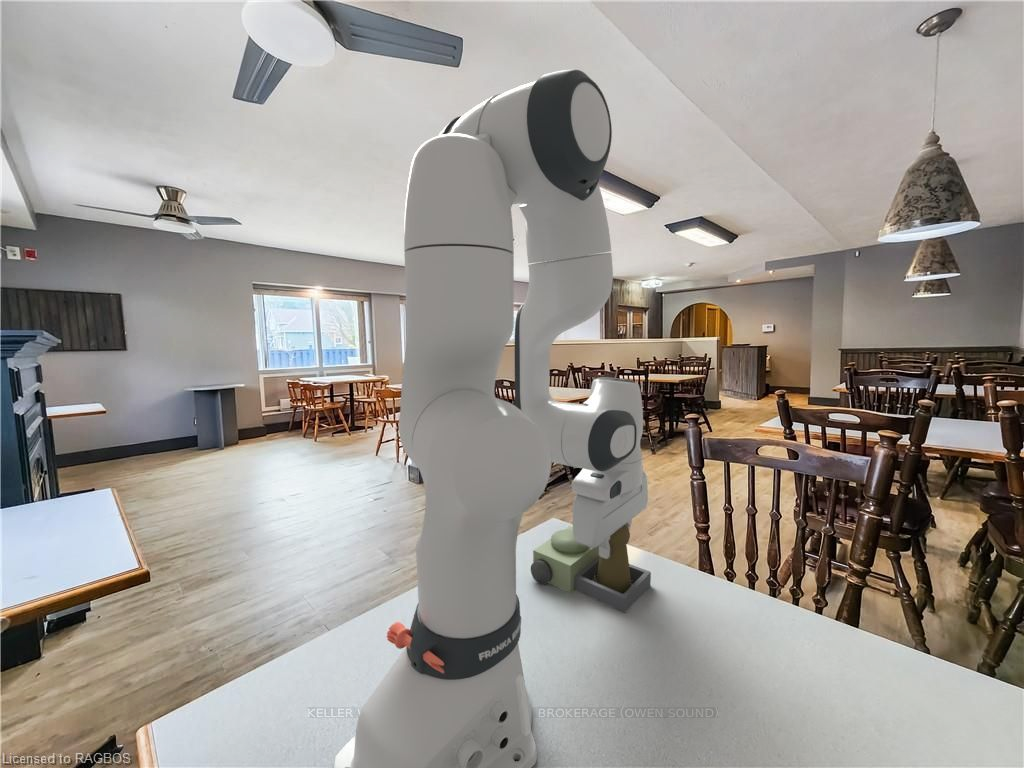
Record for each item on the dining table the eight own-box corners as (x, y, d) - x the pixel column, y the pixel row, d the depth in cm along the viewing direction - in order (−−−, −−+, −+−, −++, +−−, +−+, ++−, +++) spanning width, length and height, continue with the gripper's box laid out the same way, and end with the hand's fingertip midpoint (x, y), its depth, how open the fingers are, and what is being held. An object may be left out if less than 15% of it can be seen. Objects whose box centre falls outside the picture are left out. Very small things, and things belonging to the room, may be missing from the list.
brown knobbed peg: (624, 598, 71) (625, 535, 70) (590, 587, 74) (590, 526, 73) (636, 580, 76) (637, 521, 74) (603, 570, 79) (604, 513, 78)
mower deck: (618, 621, 67) (619, 584, 66) (529, 578, 78) (529, 546, 77) (655, 579, 77) (657, 546, 77) (572, 547, 89) (573, 518, 88)
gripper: (625, 454, 82) (624, 522, 84) (565, 485, 67) (565, 568, 69) (657, 460, 78) (655, 532, 80) (601, 495, 63) (600, 583, 65)
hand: (613, 549), depth 74 cm, fingers closed on brown knobbed peg, 4 cm apart
